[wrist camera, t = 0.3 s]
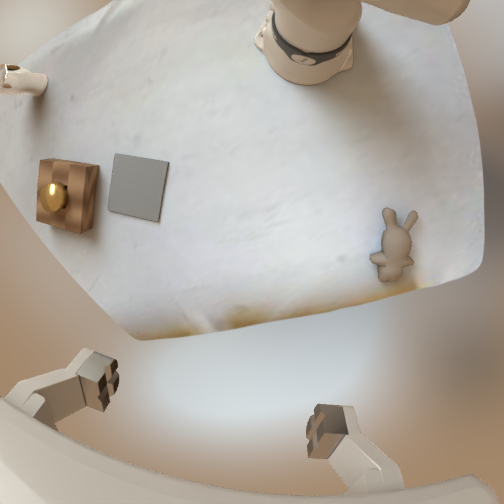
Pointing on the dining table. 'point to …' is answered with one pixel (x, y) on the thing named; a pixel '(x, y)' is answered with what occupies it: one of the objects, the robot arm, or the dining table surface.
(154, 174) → the rubber mat
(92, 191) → the walnut block
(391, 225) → the bunny figurine
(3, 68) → the beer glass
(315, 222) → the dining table surface
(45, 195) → the brass knob
